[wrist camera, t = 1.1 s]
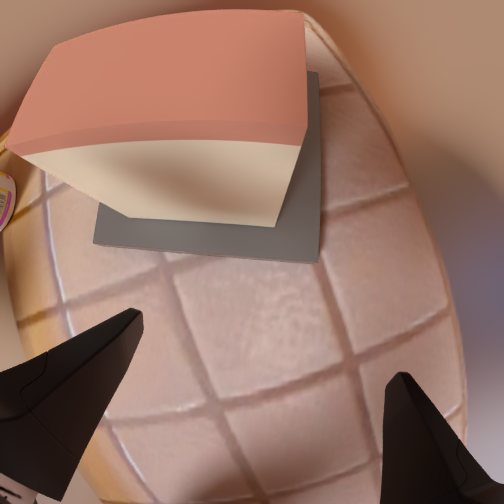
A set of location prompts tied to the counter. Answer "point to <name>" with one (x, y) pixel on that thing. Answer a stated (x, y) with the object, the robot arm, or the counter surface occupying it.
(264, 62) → the key
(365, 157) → the counter surface
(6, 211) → the supplement bottle
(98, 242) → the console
